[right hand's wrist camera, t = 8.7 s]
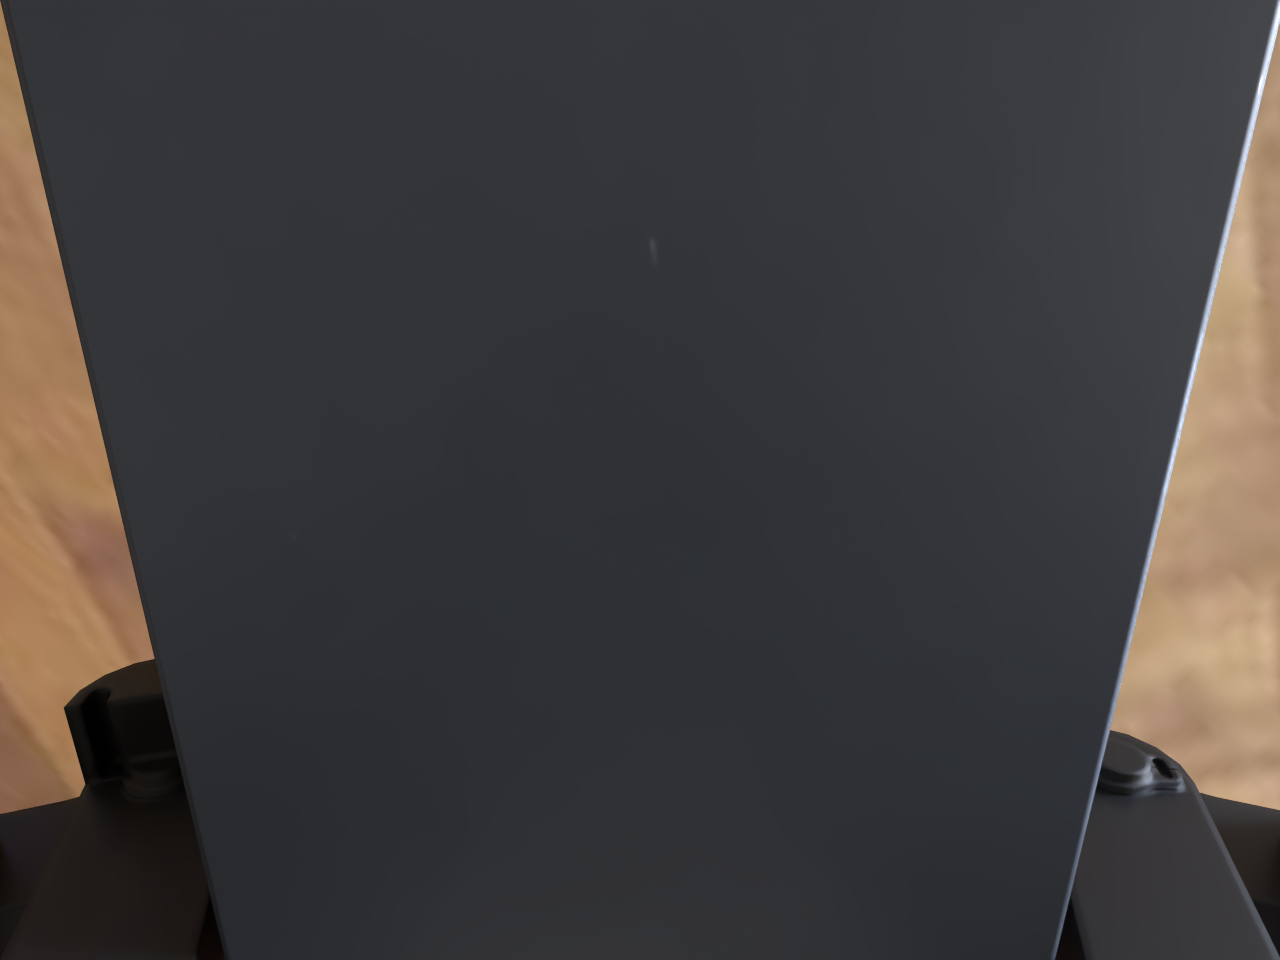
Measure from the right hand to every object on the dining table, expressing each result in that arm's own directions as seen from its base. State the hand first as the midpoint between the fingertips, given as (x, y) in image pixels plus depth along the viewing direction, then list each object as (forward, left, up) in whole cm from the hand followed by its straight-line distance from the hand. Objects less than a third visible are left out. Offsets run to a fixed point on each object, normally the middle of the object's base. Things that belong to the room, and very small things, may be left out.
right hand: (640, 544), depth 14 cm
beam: (0, -11, -1) cm, 11 cm away
